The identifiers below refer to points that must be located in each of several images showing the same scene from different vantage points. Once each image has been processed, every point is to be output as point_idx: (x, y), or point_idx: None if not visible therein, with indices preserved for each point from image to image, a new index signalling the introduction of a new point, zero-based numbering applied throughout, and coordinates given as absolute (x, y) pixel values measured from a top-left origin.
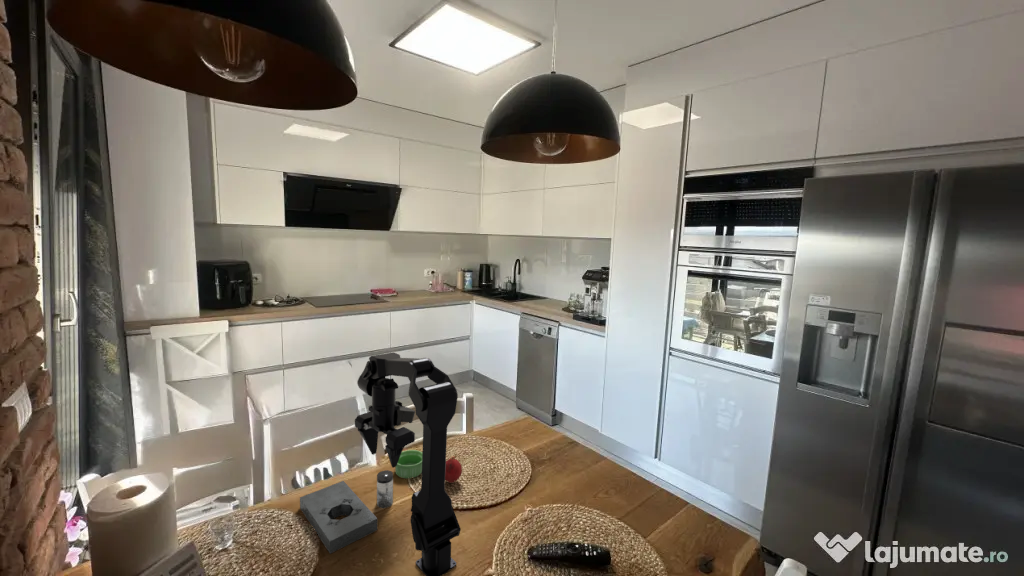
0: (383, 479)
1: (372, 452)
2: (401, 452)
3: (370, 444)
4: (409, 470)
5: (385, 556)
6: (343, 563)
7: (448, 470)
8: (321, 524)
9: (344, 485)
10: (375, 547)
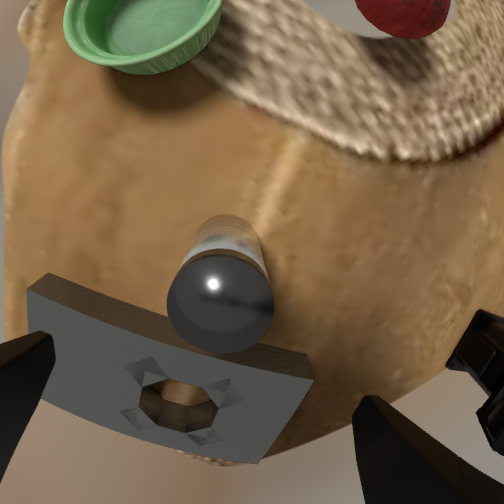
0: (249, 345)
1: (46, 375)
2: (474, 468)
3: (8, 440)
4: (190, 44)
5: (379, 389)
6: (303, 438)
7: (427, 21)
8: (184, 448)
9: (52, 309)
10: (341, 388)
